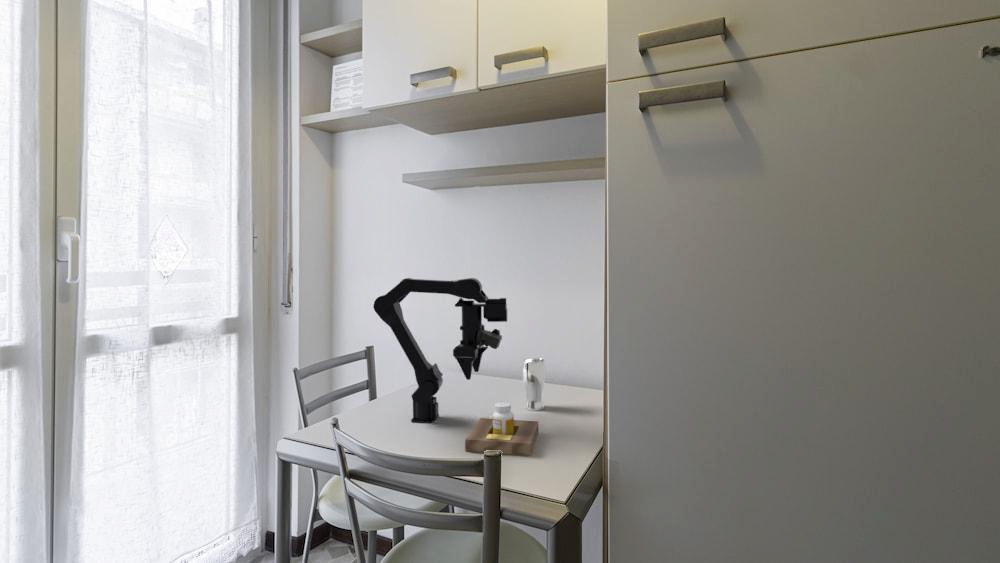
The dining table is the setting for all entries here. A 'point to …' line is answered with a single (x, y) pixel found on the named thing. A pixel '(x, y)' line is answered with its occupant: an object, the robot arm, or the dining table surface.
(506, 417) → the supplement bottle
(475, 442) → the socket block
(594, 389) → the dining table surface
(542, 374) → the beer glass
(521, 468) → the dining table surface
